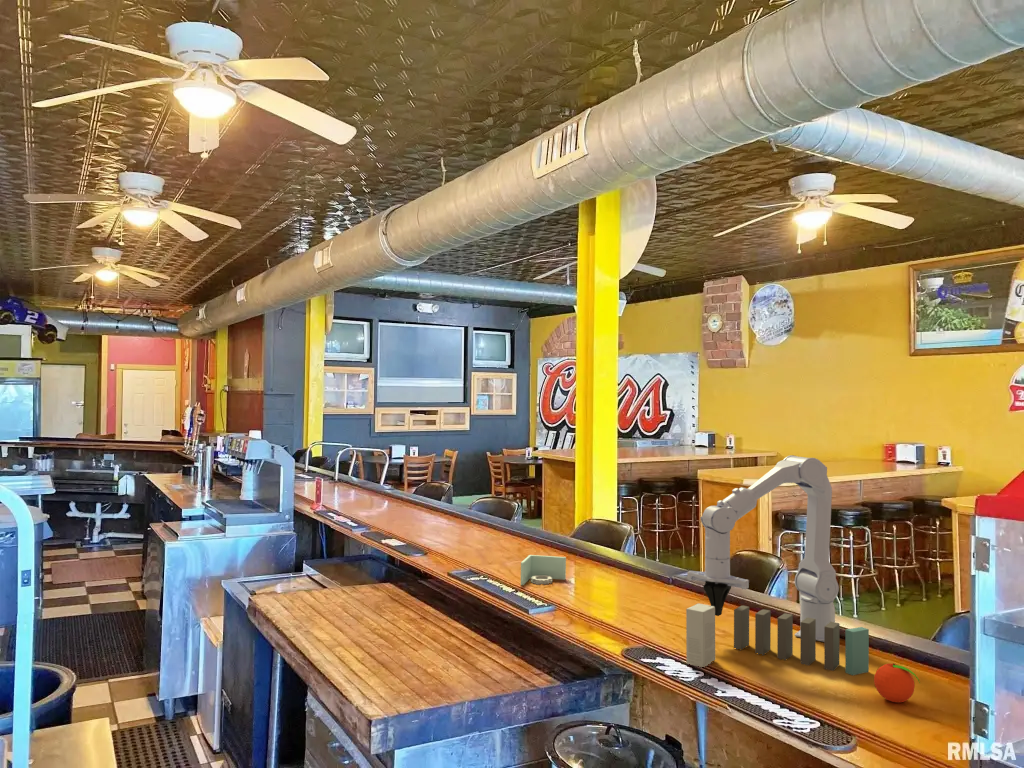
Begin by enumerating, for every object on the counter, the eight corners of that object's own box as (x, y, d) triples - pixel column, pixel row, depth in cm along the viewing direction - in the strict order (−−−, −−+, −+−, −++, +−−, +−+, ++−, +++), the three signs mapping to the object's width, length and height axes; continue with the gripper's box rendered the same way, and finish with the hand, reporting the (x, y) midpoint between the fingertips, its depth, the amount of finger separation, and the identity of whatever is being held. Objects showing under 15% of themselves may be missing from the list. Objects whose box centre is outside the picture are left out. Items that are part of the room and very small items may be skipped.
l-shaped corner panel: (520, 586, 229) (520, 562, 230) (529, 578, 241) (529, 554, 241) (558, 589, 226) (559, 564, 227) (565, 580, 238) (565, 557, 238)
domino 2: (755, 653, 168) (755, 613, 169) (762, 648, 172) (762, 609, 172) (763, 655, 167) (763, 615, 167) (770, 650, 171) (770, 610, 171)
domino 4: (800, 663, 162) (800, 622, 162) (807, 657, 166) (807, 617, 166) (808, 665, 161) (809, 623, 161) (815, 659, 165) (815, 618, 165)
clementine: (925, 702, 142) (925, 664, 142) (915, 713, 136) (915, 674, 137) (880, 691, 147) (880, 655, 147) (869, 701, 142) (869, 663, 142)
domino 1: (733, 648, 171) (734, 609, 172) (741, 643, 175) (741, 605, 175) (741, 650, 170) (741, 611, 171) (749, 645, 174) (749, 606, 174)
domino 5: (824, 668, 159) (824, 626, 159) (830, 662, 163) (830, 621, 163) (833, 670, 158) (833, 628, 158) (839, 664, 162) (839, 623, 162)
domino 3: (777, 658, 165) (777, 617, 165) (784, 653, 169) (784, 613, 169) (785, 660, 164) (785, 619, 164) (792, 654, 168) (792, 614, 168)
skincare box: (697, 656, 166) (698, 602, 166) (715, 661, 163) (716, 606, 163) (685, 663, 161) (685, 608, 161) (703, 668, 158) (704, 612, 159)
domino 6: (845, 672, 157) (845, 629, 157) (861, 669, 159) (861, 626, 159) (852, 675, 155) (852, 632, 156) (868, 672, 157) (868, 629, 158)
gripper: (681, 555, 178) (681, 612, 178) (740, 564, 169) (740, 624, 169) (694, 551, 184) (694, 606, 184) (752, 559, 175) (751, 617, 175)
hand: (717, 614), depth 177 cm, fingers closed
